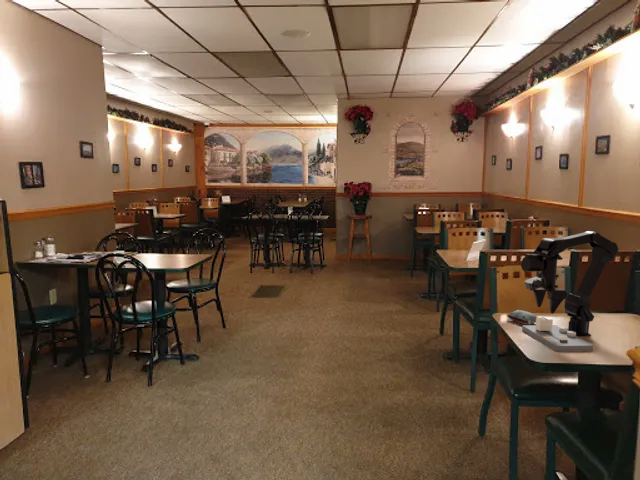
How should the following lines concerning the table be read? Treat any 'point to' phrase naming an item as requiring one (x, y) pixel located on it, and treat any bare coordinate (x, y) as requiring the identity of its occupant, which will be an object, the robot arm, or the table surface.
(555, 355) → the table surface
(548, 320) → the block
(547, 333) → the console
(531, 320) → the packaged food
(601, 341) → the table surface
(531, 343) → the table surface
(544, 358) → the table surface
